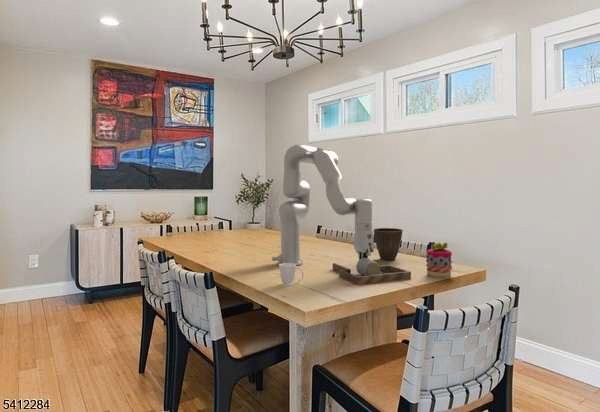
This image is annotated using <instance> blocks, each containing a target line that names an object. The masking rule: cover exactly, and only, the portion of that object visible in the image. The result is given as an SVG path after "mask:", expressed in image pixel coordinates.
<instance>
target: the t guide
mask: <svg viewBox="0 0 600 412" xmlns="http://www.w3.org/2000/svg"><path fill="white" fill-rule="evenodd" d="M378 265H379V267H380V271H381V272H383V274H378V275H370V276H364V275H362V276H359V275H355V274H353V273H351V271H352V270H351V269H350V268H348V267H345V266H343V265H340V264H338V263H336V262H334V263H332V271H334V272H338V274H339V278H341V279H344V280H345V281H348V282H350V283H352V284H354V285H357V286H362V285H369V284H377V283H378V284H379V283H386V282H394V281H395V282H396V281H403V280H411V278H412V277H411V276H412V271H410V270H407V269H403V268H400V267H397V266H394V265H391V264H388V265H387V264H385V265H381V264H378Z"/></svg>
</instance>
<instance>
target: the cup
mask: <svg viewBox="0 0 600 412" xmlns="http://www.w3.org/2000/svg"><path fill="white" fill-rule="evenodd" d="M278 267H279V273H280V279H281V281H282V286H285V287H290V286H295V285H298V284H299V283H301V282H302V280H303V279H304V272H303V269H302V268H301V267H297V265H296V264H294V263H282V264H278ZM296 270H299V271H301V279H300V280H298V281H297V282H295V283H294V280H295V274H296Z"/></svg>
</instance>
